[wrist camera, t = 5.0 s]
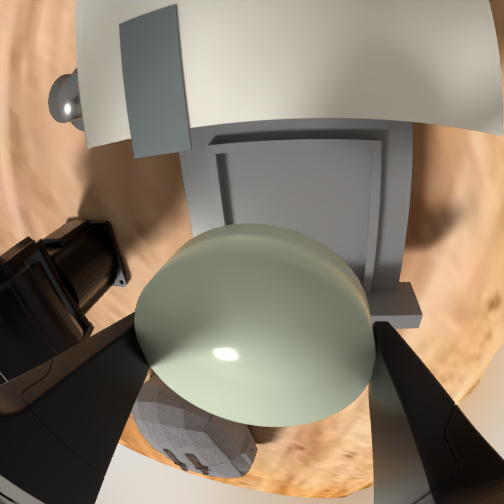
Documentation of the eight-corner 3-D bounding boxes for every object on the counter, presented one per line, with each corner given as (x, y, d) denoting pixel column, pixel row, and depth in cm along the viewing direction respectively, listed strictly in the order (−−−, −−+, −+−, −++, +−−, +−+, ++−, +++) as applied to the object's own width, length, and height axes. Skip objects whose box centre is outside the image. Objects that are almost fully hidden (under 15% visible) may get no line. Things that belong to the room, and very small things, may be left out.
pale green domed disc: (355, 393, 9) (355, 430, 8) (186, 380, 11) (171, 411, 10) (380, 221, 7) (395, 252, 5) (136, 227, 8) (103, 253, 7)
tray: (407, 294, 18) (418, 328, 15) (194, 288, 21) (176, 317, 19) (425, 85, 12) (449, 82, 9) (160, 97, 15) (128, 99, 12)
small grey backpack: (270, 447, 38) (231, 365, 29) (259, 494, 31) (207, 433, 22) (183, 437, 42) (123, 358, 34) (167, 476, 35) (91, 407, 27)
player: (446, 136, 15) (502, 158, 9) (154, 143, 20) (90, 167, 14) (417, -57, 8) (448, -102, 2) (138, -32, 13) (79, -58, 7)
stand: (128, 121, 19) (98, 128, 16) (74, 137, 21) (45, 146, 18) (119, 49, 16) (89, 45, 13) (66, 73, 18) (36, 75, 15)
